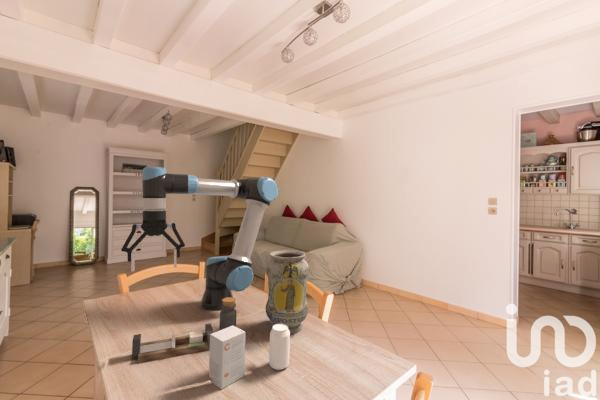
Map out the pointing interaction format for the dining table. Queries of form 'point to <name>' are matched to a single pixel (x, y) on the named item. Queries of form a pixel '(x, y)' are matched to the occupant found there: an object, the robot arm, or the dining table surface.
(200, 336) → the cream cube
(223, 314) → the bottle
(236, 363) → the small box
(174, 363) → the dining table surface
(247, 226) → the robot arm
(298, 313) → the vase
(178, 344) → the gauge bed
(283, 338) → the beverage can
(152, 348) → the grey sliding carriage
